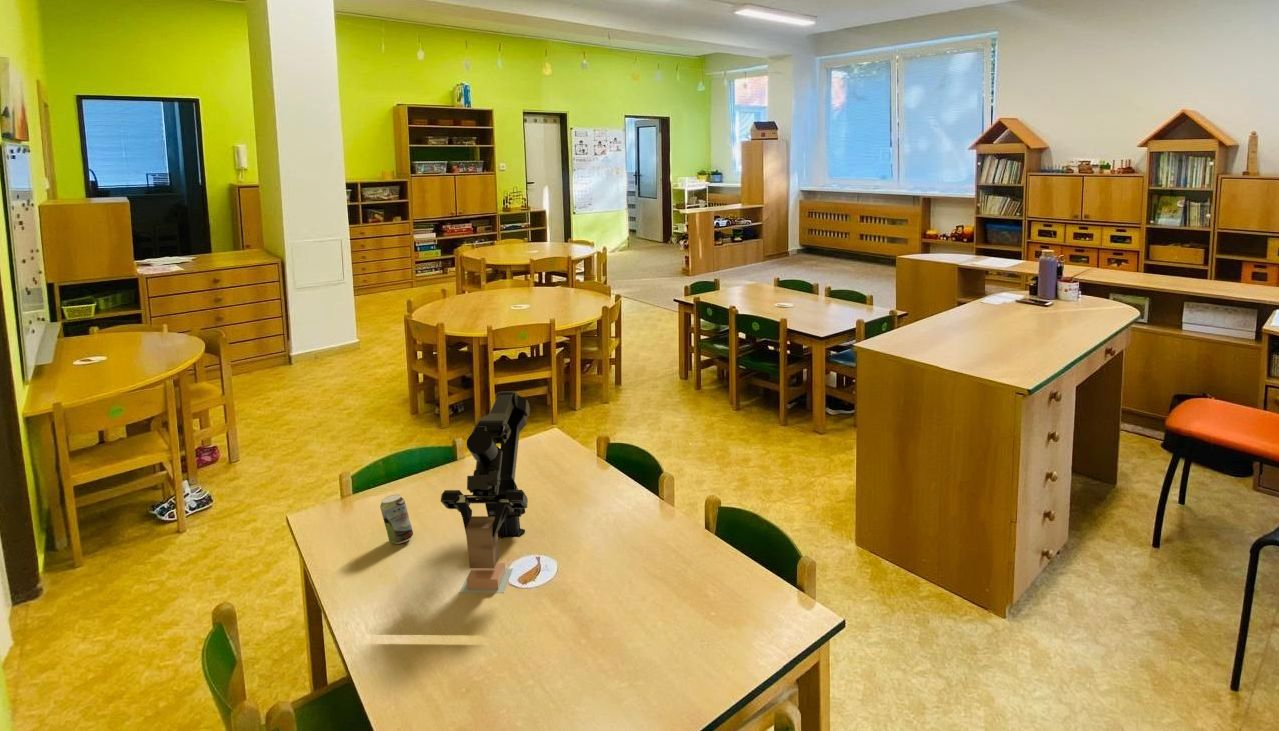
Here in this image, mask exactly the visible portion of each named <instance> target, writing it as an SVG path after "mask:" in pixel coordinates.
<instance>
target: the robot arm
mask: <svg viewBox="0 0 1279 731" xmlns="http://www.w3.org/2000/svg"><path fill="white" fill-rule="evenodd" d="M495 396H496V397H495V401H494V404H493V406H492V407H491V410H490V411H489V413H488V414H486V415H484V416H482V417H481V418H479V420H478V421H477V423H476V424H475V426H474V427H473V430H472V433H471V434H470V435H469V436H468V437H467V440H466V447H467V449H468V451H469V452H470V454H471V455H472V457H473V459H474V460H475V461H476V464H475V469H474V471H473V474H472V475H467V476H466V478H467V479H466V490H467V491H468V492H470V493H471V494H463V492H462V491H461V490H459V489H450V490H449V489H447V490H446V489H445V490H444V491H443V492H442V493H441V496H440V502H441V503H442V505H443V506H444V507H445V508H446V509H449V510H457V512H459V513H460V514H461V517H462V521H463V522H462V523H463V526H464V531H465V533H466V527H467V525H468V523H469V521H470V519H471V517H472V516H473V510H472V509H471V507H470V506H471V504H484V505H485V509H486V513H487V516H495V520H494V525H493V537H495V536H496V534H497V533H498V539H499V538H500V539H505V538H519V537H521V536H522V535H523V534H524V533H525V532H526V530H525V529H524V528H521V523H520V518H521V517H522V515H524V514H526V509H527V508H528V502H529V501H528V496H527V495H526V493H525V492H524V490H522V489H519V488H518V486H517V484H516V482H515V478H516V468H517V460H518V451H519V440H520V433H521V431H522V430H523V429H524V428H525V427H526V426H527V424H528V423H527V422H528V417H530V412H531V408H530V402H529V401H528V400H527V398H526V397H523V396H522V395H519V394H518V392H516V391H509V390H508V391H499V392H497V393H496V395H495ZM498 444H499V445H500V447H499V446H497V445H498Z"/></svg>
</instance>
